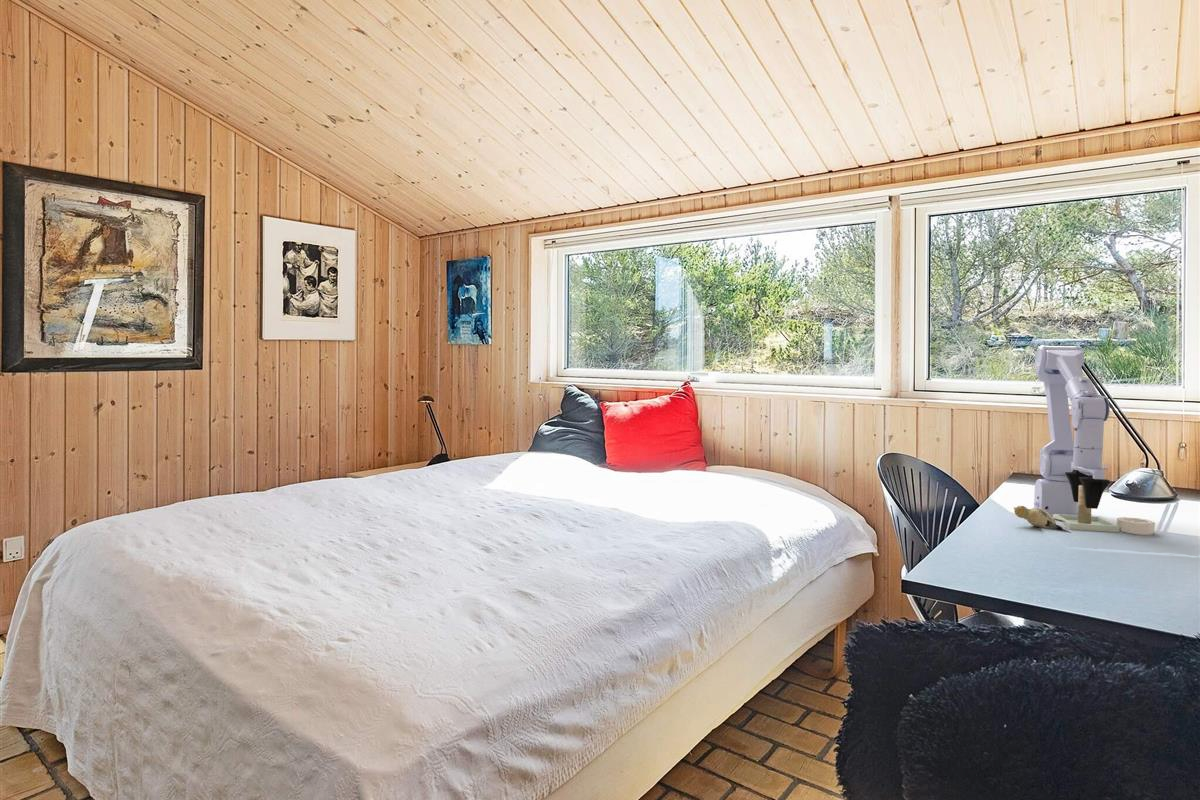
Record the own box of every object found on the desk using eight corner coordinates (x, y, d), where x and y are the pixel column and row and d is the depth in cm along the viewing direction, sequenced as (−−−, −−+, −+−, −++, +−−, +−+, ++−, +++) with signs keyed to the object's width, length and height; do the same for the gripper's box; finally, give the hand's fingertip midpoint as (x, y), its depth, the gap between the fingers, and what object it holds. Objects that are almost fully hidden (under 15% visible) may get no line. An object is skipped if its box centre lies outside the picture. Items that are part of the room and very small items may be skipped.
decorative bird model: (1051, 509, 176) (1013, 498, 176) (1086, 528, 164) (1045, 517, 163) (1044, 525, 177) (1006, 514, 177) (1078, 546, 165) (1038, 534, 164)
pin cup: (1125, 535, 164) (1125, 522, 164) (1113, 529, 171) (1113, 516, 170) (1158, 537, 163) (1158, 524, 163) (1144, 531, 169) (1145, 518, 169)
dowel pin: (1080, 524, 171) (1081, 486, 171) (1076, 522, 174) (1076, 485, 173) (1092, 525, 171) (1093, 487, 170) (1088, 522, 173) (1089, 485, 173)
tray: (1068, 531, 168) (1069, 523, 168) (1052, 521, 179) (1053, 513, 179) (1118, 534, 166) (1119, 526, 166) (1099, 523, 176) (1099, 516, 176)
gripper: (1120, 452, 163) (1117, 512, 164) (1095, 444, 177) (1092, 500, 178) (1085, 450, 165) (1082, 510, 166) (1062, 443, 179) (1060, 498, 180)
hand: (1085, 505), depth 172 cm, fingers open, 7 cm apart
